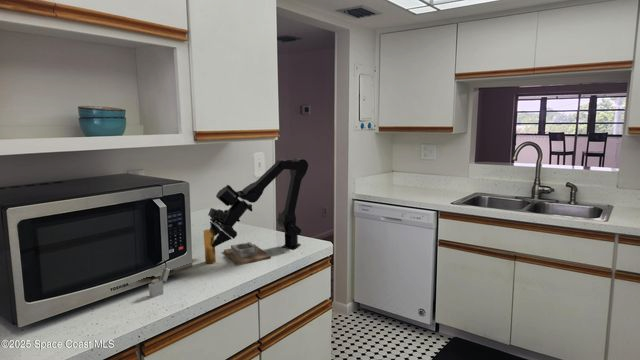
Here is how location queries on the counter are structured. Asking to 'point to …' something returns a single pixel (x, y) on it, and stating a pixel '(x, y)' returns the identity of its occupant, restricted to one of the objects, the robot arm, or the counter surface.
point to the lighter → (158, 284)
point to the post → (209, 246)
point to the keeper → (246, 253)
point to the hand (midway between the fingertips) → (209, 243)
